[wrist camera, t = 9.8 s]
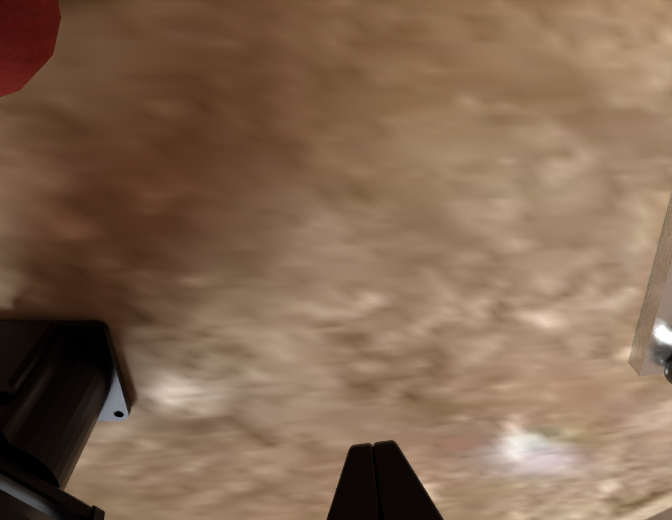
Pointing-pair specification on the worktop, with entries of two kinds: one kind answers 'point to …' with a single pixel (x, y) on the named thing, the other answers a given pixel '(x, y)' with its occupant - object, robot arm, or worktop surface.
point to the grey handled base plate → (657, 313)
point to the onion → (25, 40)
